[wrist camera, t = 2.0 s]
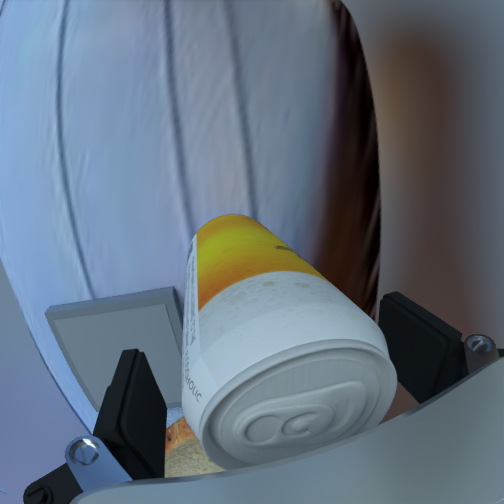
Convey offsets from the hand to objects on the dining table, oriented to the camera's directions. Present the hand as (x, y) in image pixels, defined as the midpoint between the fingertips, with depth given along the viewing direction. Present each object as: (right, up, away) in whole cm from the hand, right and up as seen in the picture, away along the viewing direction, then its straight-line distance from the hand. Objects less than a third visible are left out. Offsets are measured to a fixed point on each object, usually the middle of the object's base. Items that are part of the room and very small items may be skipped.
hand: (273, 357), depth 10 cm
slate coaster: (-11, -5, +11) cm, 16 cm away
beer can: (-2, +4, +10) cm, 11 cm away
